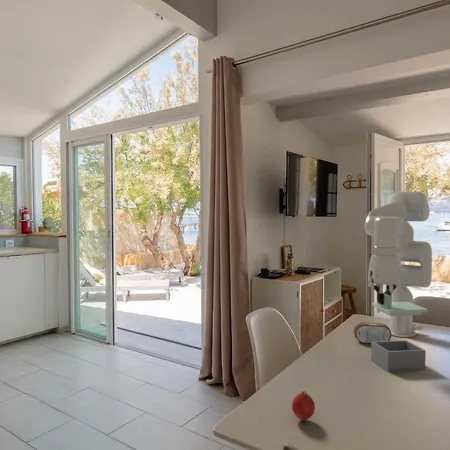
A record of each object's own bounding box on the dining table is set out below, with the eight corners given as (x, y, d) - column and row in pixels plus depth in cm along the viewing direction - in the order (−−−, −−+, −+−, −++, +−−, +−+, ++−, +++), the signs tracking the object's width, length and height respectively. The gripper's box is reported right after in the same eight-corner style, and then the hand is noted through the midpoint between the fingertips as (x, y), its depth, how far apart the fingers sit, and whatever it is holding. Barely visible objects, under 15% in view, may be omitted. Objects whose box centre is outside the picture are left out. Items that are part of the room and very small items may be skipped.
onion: (289, 415, 104) (289, 385, 104) (310, 414, 104) (311, 385, 104) (295, 427, 98) (295, 395, 98) (317, 426, 98) (318, 395, 98)
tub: (405, 358, 146) (406, 340, 146) (425, 370, 136) (425, 350, 135) (371, 360, 144) (371, 341, 144) (387, 372, 133) (388, 352, 133)
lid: (407, 307, 147) (407, 289, 146) (427, 315, 135) (428, 296, 135) (371, 308, 144) (372, 291, 144) (389, 317, 133) (389, 298, 133)
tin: (389, 342, 165) (390, 323, 165) (392, 345, 162) (392, 325, 162) (353, 341, 166) (353, 321, 166) (354, 343, 163) (355, 323, 163)
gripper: (399, 250, 143) (398, 300, 144) (358, 251, 141) (357, 301, 141) (412, 253, 136) (410, 305, 136) (369, 253, 133) (368, 307, 134)
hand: (383, 303), depth 139 cm, fingers closed on lid
